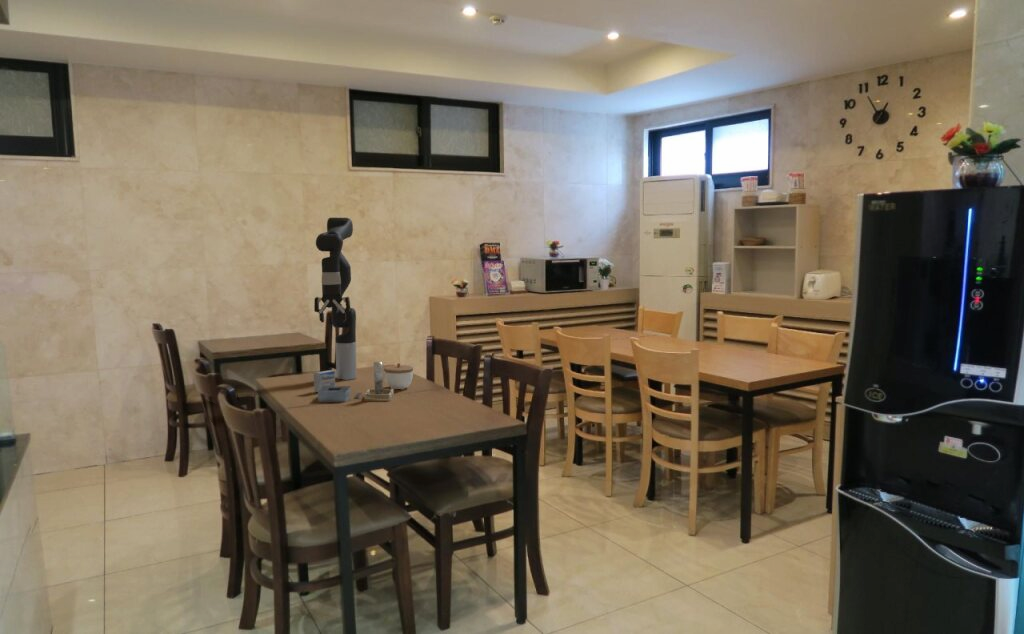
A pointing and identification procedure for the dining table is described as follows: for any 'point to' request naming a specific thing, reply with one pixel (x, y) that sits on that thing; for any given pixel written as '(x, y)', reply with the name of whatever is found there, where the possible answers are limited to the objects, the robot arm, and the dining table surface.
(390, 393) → the tray
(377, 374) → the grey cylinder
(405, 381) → the lidded bowl
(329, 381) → the medicine box
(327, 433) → the dining table surface
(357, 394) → the bar
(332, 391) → the socket block
